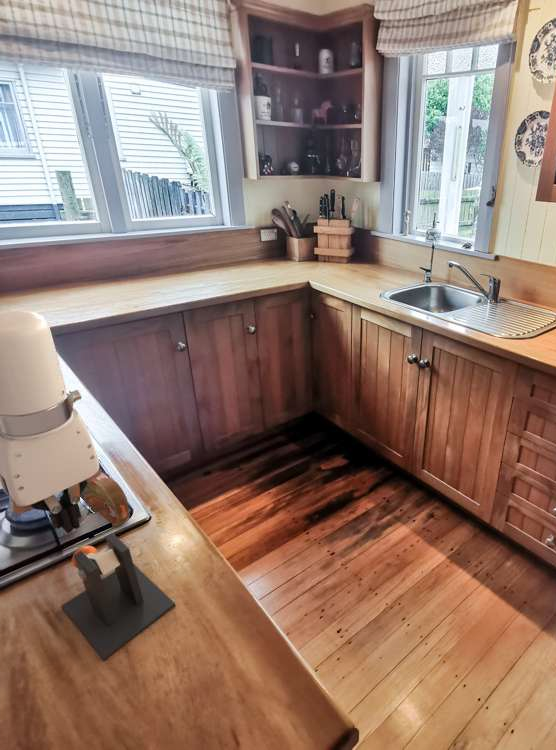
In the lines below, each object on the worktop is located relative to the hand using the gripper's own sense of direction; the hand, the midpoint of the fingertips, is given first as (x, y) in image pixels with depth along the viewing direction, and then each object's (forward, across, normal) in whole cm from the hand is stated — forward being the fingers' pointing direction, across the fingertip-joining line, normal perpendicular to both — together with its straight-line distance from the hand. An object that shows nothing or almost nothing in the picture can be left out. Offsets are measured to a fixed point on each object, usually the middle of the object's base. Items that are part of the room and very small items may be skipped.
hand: (69, 525), depth 65 cm
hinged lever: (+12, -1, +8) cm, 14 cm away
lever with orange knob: (+5, -1, +5) cm, 7 cm away
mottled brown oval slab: (+12, -9, -13) cm, 20 cm away
